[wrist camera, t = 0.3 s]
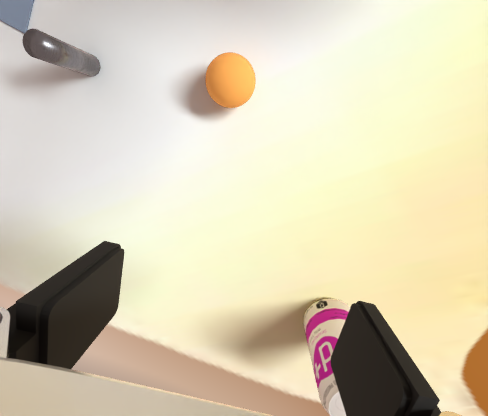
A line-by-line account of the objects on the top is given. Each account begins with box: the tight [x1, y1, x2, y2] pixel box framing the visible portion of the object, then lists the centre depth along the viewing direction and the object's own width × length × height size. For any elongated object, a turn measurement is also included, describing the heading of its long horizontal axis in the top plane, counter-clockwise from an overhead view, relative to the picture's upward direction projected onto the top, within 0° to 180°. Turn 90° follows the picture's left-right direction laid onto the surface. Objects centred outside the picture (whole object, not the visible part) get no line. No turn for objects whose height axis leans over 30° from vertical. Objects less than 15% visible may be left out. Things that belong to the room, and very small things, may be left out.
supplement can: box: [303, 298, 350, 416], centre depth 36 cm, size 8×8×15 cm
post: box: [23, 29, 100, 76], centre depth 31 cm, size 3×3×9 cm
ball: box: [206, 53, 255, 108], centre depth 32 cm, size 6×6×6 cm
